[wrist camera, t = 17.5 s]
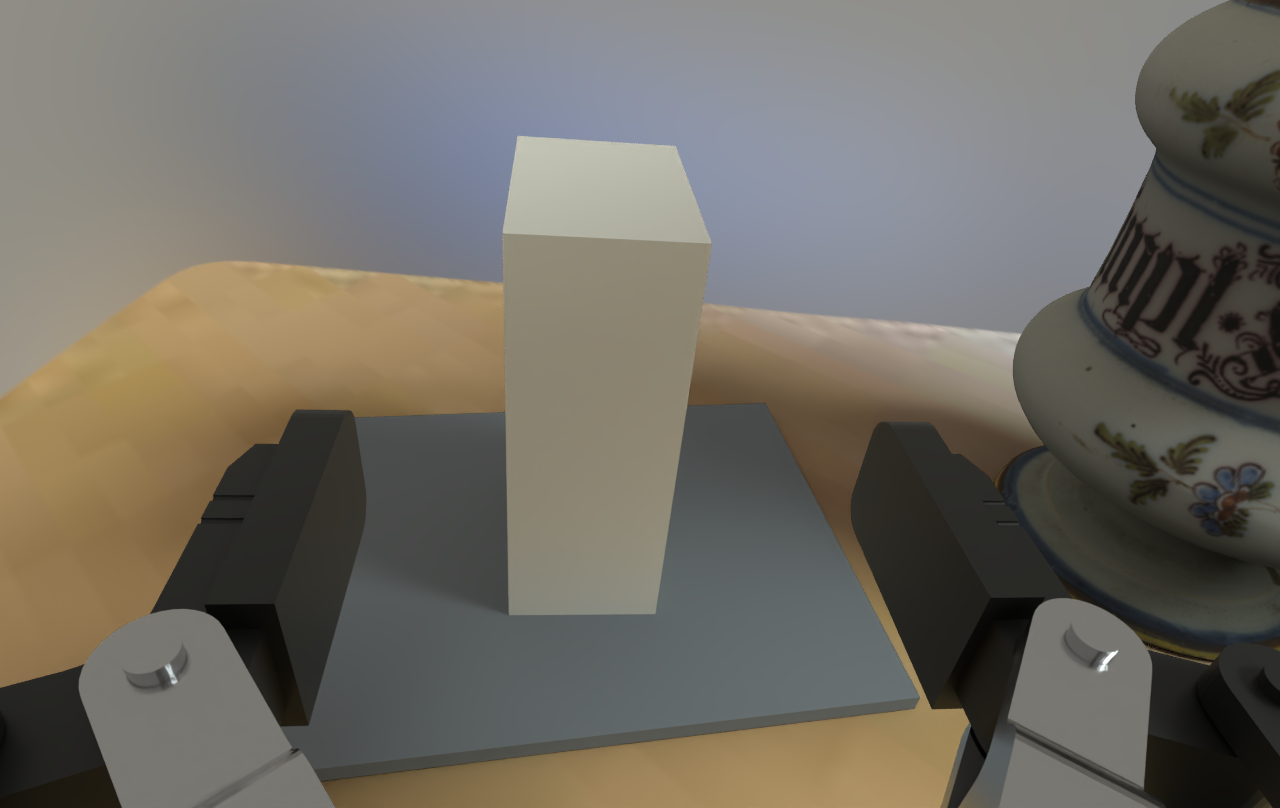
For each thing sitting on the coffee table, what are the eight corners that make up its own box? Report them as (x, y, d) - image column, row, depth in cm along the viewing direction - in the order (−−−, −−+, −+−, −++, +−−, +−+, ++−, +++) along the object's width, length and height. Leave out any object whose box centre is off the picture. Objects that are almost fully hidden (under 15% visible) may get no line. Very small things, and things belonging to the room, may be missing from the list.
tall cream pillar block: (638, 471, 26) (675, 146, 20) (655, 614, 21) (711, 243, 15) (519, 470, 26) (517, 136, 19) (508, 615, 21) (502, 232, 14)
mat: (762, 413, 30) (765, 402, 30) (914, 708, 20) (920, 697, 20) (334, 429, 27) (333, 418, 27) (255, 789, 17) (250, 777, 17)
